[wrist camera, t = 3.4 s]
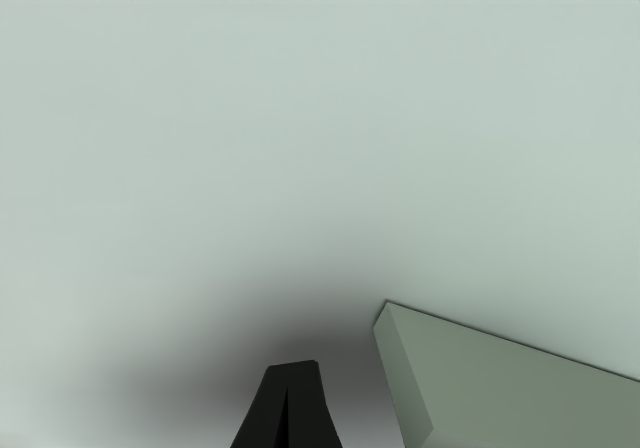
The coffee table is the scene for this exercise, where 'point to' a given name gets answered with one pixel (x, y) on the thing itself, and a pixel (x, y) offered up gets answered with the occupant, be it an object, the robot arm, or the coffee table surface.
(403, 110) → the coffee table surface
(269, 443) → the robot arm
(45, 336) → the coffee table surface
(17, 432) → the coffee table surface
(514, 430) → the sage green panel
